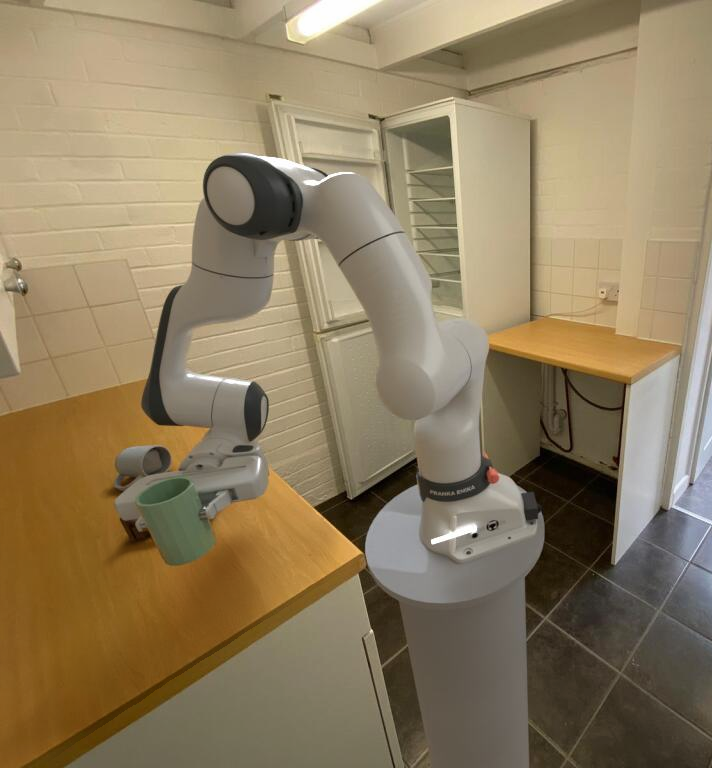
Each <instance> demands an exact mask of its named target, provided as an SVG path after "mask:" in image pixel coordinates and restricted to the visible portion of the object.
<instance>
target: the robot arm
mask: <svg viewBox="0 0 712 768" xmlns="http://www.w3.org/2000/svg"><path fill="white" fill-rule="evenodd" d="M202 191H203V198H202V199H201V200H200V202H199V204H198V207H197V212H196V214H195V220H194V224H193V233H192V241H191V269H190V272H189V276H188V278H187V280H186V281H185V282H184V284H181V285H176V286H174V287H172V289H171V290H170V291H169V293H168V294H167V296H166V298H165V300H164V303H163V306H162V310H161V313H160V317H159V322H158V326H157V330H156V331H157V332H156V336H155V343H154V346H153V347H154V348H153V352H152V358H151V365H150V368H149V372H148V376H147V380H146V382H145V385H144V388H143V390H142V391H143V392H142V395H141V400H140V401H141V402H140V406H141V409H142V411H143V413H144V414H145V415H146V416H147V417H148V418H149V419H150V420H151V421H152V422H153V423H154V424H156V425H158V426H160V427H161V426H162V427H163V426H164V427H166V426H167V427H193V428H202V429H208V430H207V431H206V432H205V433H204V434H203V436H202V438H201V440H200V441H198V443H196V444H195V445H194V446H193V447H192V448H191V450H190V451H189V453H187V455H186V456H185V457H184V458H183V459H182V460H181V462H180V464H179V466H178V470H173V471H167V472H166V473H160V474H153V475H149V476H146V477H143V478H141V479H140V480H138V481H137V482H135V483H134V484H133V485H131V486H130V487H129V488H128V489H126V490H125V491H122V493H120V494H119V495H118V496H117V497H116V498H115V499H114V501H113V507H114V509H115V511H116V513H117V514H118V516H119V518H122V519H123V520H125V521H127V520H133V519H138V520H137V521H136V524H135V525H136V527H137V529H138V531H139V532H141V531H147V530H148V528H147V526H146V524H145V522H144V520H143V518H142V516H141V514H140V512H139V510H138V508H137V506H136V504H135V498H136V497H137V496H138V495H139V493H140V492H142V491H143V490H145V489H146V488H148V487H149V486H151V485H153V484H155V483H158V482H160V481H163V480H166V479H169V478H175V477H189V478H191V479H192V480H193V482H194V484H195V487H196V489H197V491H198V494H199V496H200V499H201V501H202V504H203V505H202V507H201V509H200V510H199V512H198V515H199V517H201V518H200V520H201V521H203V520H213V519H214V518H215V517H216V515H217V513H219V512H221V511H222V510H224V509H225V508H227V507H228V506H230V504H235V503H240V502H245V501H246V502H247V501H253V500H257V499H259V498H260V497H262V496H264V495H265V493H266V491H267V489H268V485H269V481H270V480H269V477H270V469H269V465H268V461H267V458H266V455H265V452H264V451H263V449H262V447H261V446H260V445H258V444H259V441H260V439H261V434H262V433H263V431H264V430H265V427H266V425H267V422H268V418H269V412H270V411H269V410H270V402H269V401H270V400H269V397H268V395H267V393H266V392H265V391H264V389H263V387H262V386H261V385H260V384H259V383H257V382H256V381H255V380H253V381H252V380H247V379H241V378H235V377H224V376H217V375H211V374H210V375H209V374H203V373H198V372H197V373H196V372H194V371H192V370H190V369H189V368H188V367H187V364H188V359H189V354H190V349H191V345H192V340H193V336H194V332H195V330H196V329H199V328H202V327H207V326H211V325H219V324H227V323H234V322H239V321H243V320H246V319H249V318H251V317H253V316H255V315H257V314H258V313H260V312H261V311H262V310H264V309H265V308H266V307H267V305H268V304H269V302H270V301H271V296H272V293H273V288H274V287H273V286H274V277H275V274H274V273H275V254H276V250H277V247H278V245H279V244H280V243H281V242H282V241H289V242H300V241H301V242H302V241H309V240H319V241H321V242H322V243H323V245H324V246H325V247H326V248H327V250H328V251H329V253H330V255H331V257H332V258H333V260H334V262H335V264H336V265H337V267H338V268H339V270H340V272H341V274H342V275H343V276H344V278H345V280H346V281H347V284H348V285H349V287H350V288H351V290H352V291H353V293H354V295H355V297H356V298H357V301H358V302H359V304H360V305H361V307H362V309H363V311H364V313H365V315H366V317H367V320H368V322H369V326H370V329H371V332H372V335H373V340H374V344H375V348H376V356H377V365H376V371H375V375H374V390H375V392H376V395H377V398H378V399H379V401H380V402H381V404H382V405H383V407H385V409H387V411H388V412H390V413H391V414H393V415H394V416H396V417H397V418H400V419H403V420H406V421H407V420H408V421H415V422H414V426H413V427H414V428H413V438H414V439H413V440H414V446H415V454H416V461H417V466H416V474H415V475H416V476H415V477H416V483H417V484H418V491H419V495H420V497H421V500H422V511H421V521H420V526H419V537H420V540H421V542H422V543H423V544H424V545H425V546H426V547H427V548H428V549H430V550H432V551H434V552H436V553H439V554H443V555H446V556H449V557H450V558H451V559H452V560H453V561H455V562H456V563H459V564H465V563H467V562H470V561H473V560H475V559H478V558H481V557H483V556H486V555H489V554H491V553H494V552H496V551H499V550H502V549H504V548H507V547H510V546H512V545H515V544H518V543H520V542H523V541H526V540H528V539H531V538H533V537H534V536H535V535H536V532H537V519H538V514H539V513H540V512H541V513H542V506H541V504H539V503H537V499H536V495H535V492H534V491H530V492H529V491H527V493H522V492H520V491H519V489H518V487H517V486H518V485H517V484H516V482H515V481H514V480H513V479H512V478H511V477H510V476H508V475H505V474H503V473H500V472H498V471H497V469H496V468H493V463H492V460H491V459H490V458H489V457H488V456H489V455H488V454H487V453H486V452H485V451H484V452H483V455H482V454H481V440H480V414H481V406H482V398H483V390H484V389H483V388H484V378H485V377H484V376H485V369H486V363H487V359H488V355H489V351H490V340H489V337H488V334H487V332H486V330H485V328H483V326H481V324H480V323H478V322H477V321H475V320H474V319H471V318H468V317H453V318H449V319H448V318H447V319H444V320H441V321H439V322H438V319H437V317H436V314H435V310H434V306H433V301H432V290H433V282H432V279H431V275H430V274H429V272H428V270H427V269H426V267H425V265H424V263H423V261H422V260H421V258H420V256H419V254H418V252H417V251H416V249H415V248H414V246H413V244H412V243H411V240H410V239H409V237H408V235H407V233H406V231H405V230H404V228H403V226H402V224H401V223H400V221H399V220H398V218H397V217H396V215H395V214H394V212H393V210H392V209H391V208H390V206H389V204H387V202H386V200H384V198H383V197H382V196H381V193H380V192H378V191H377V189H376V188H375V187H374V186H373V184H372V183H371V182H370V181H369V180H368V178H366V177H364V176H362V175H361V174H358V173H356V172H351V171H342V172H337V173H333V174H328V173H327V172H325V171H323V170H320V169H319V168H316V167H308V166H306V165H302V164H299V163H296V162H293V161H290V160H287V159H283V158H279V157H272V156H259V155H255V154H251V153H245V152H244V153H229V154H225V155H222V156H218V157H217V158H215V159H214V160H212V161H211V162H210V163H209V165H208V166H207V168H206V169H205V172H204V174H203V179H202ZM417 484H416V485H417ZM531 524H532V525H531ZM467 554H469V555H467Z"/></svg>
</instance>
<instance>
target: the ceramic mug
mask: <svg viewBox="0 0 712 768" xmlns="http://www.w3.org/2000/svg"><path fill="white" fill-rule="evenodd" d="M114 461H115V462H114V466H115V470H116V471H117V473H118V475H116V478H114V481H113V486H114V488H115V489H117V490H119V491H121V492H124V491H125V490H126V489H128V488H129V487H130V486H131V485H133V484H134V483H135V482H137V481H138V480H140V479H141V478H143V477H146V476H149V475H153V474H160V473H166V472H169V470H170V468H171V466H172V463H173V462H172V461H173V458H172V454H171V451H170V450H169V448H167V447H166V446H163V445H161V444H154V445H153V444H152V445H137V446H136V445H134V446H131V447H127V448H125V449H123V450H121V451H120V452H119V453H118V454H117V456H116V458H115V460H114ZM126 477H127V478H134V479H133V480H132V481H131V482H130V483H128V484H126V485H124V486H122V485H121V484H122V482H123V481H124V479H125V478H126Z"/></svg>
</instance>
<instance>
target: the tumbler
mask: <svg viewBox="0 0 712 768" xmlns="http://www.w3.org/2000/svg"><path fill="white" fill-rule="evenodd" d="M135 504H136V506H137V508H138V510H139V512H140V514H141V516H142V518H143V520H144V522H145V524H146V526H147V528H148V530H149V535H150V537H151V539H152V540H153V542H154V544H155V547H156V548H157V550H158V552H159V555H160V557H161V559H162V560H163V561H164V563H165V564H166V565H168V566H171V567H175V566H176V567H178V566H183V565H187V564H190V563H192V562H195V561H197V560H199V559H201V558H202V557H204V556H205V555H206V554H208V553H209V552H210V551H211V550H212V549H213V548H214V547H215V545H216V543H217V537H216V536H217V535H216V532H215V531H214V528H213V526H212V523H211V521H210V520H211V519H210V520H203V521H201V520H200V518H201V517H199V515H198V512H199V510H200V509H201V507H202V505H203V504H202V501H201V499H200V496H199V494H198V491H197V489H196V487H195V484H194V482H193V480H192V479H191V478H189V477H175V478H169V479H166V480H163V481H160V482H158V483H155V484H153V485H151V486H149V487H148V488H146V489H145V490H143V491H142V492H140V493H139V495H138V496H137V497H136V498H135Z"/></svg>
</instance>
